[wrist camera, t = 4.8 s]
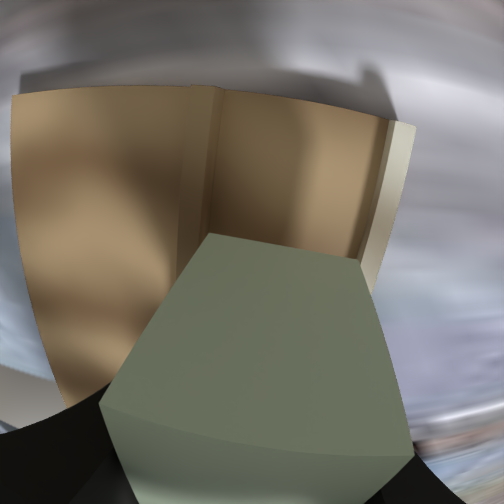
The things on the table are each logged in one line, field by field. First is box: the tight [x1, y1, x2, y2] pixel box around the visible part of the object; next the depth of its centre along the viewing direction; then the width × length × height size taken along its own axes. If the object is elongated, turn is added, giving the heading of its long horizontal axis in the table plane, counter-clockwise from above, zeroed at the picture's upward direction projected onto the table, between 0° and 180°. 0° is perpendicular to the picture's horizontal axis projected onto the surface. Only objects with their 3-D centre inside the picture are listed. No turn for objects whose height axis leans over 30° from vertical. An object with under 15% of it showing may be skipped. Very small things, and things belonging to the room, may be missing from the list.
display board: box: [11, 85, 416, 408], centre depth 16 cm, size 24×18×3 cm
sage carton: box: [99, 233, 415, 504], centre depth 8 cm, size 7×5×6 cm, turn 172°
